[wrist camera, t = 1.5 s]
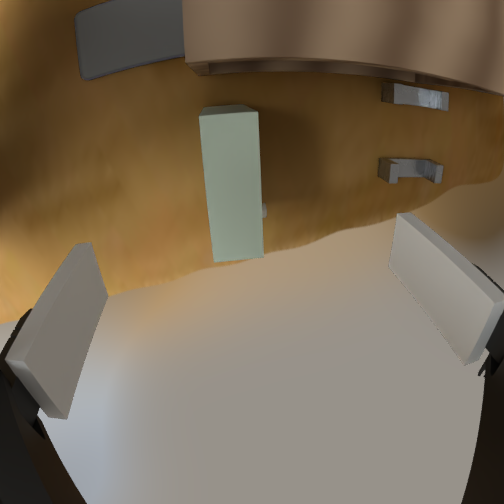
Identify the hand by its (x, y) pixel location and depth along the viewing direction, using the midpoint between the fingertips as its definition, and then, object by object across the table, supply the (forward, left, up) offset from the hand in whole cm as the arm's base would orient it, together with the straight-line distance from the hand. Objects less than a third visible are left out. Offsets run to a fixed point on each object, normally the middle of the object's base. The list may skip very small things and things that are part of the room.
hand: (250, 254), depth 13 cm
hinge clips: (+19, +3, -18) cm, 26 cm away
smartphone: (-6, +14, -19) cm, 24 cm away
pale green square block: (0, 0, -18) cm, 18 cm away
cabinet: (+9, +13, -18) cm, 24 cm away
